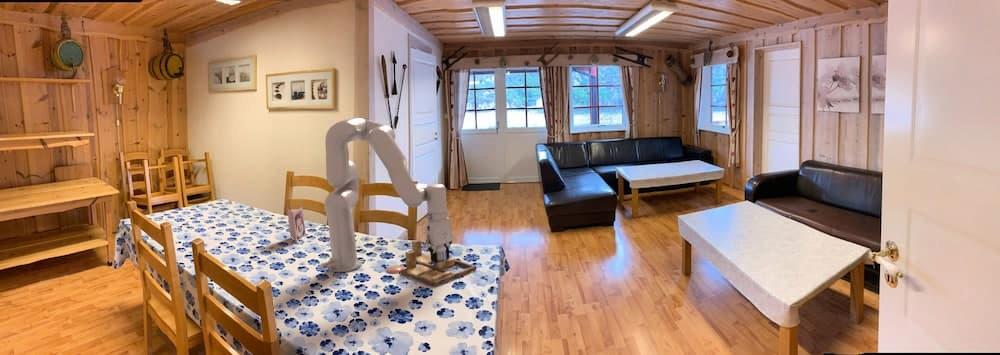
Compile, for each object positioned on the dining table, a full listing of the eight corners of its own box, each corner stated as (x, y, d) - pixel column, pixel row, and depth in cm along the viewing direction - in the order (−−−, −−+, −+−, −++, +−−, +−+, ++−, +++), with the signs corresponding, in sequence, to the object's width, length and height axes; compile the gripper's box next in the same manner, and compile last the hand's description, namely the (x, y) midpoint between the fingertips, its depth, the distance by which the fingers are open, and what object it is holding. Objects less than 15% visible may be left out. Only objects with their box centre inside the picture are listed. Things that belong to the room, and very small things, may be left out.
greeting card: (298, 243, 231) (294, 212, 228) (282, 244, 231) (278, 213, 228) (307, 236, 242) (304, 206, 239) (292, 236, 242) (288, 207, 239)
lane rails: (433, 287, 175) (433, 280, 174) (400, 273, 189) (400, 267, 188) (476, 269, 190) (476, 264, 189) (443, 258, 203) (442, 253, 203)
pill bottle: (440, 261, 200) (438, 238, 198) (450, 264, 197) (448, 241, 195) (430, 266, 196) (429, 242, 194) (440, 268, 192) (439, 244, 191)
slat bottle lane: (439, 270, 190) (438, 253, 189) (408, 258, 204) (406, 242, 203) (454, 264, 196) (453, 247, 195) (423, 253, 210) (422, 238, 209)
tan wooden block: (415, 277, 185) (414, 259, 183) (401, 271, 191) (399, 254, 190) (432, 270, 190) (431, 253, 189) (417, 265, 197) (416, 248, 195)
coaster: (393, 274, 188) (393, 273, 188) (382, 270, 193) (382, 269, 193) (408, 269, 193) (408, 268, 193) (397, 265, 198) (397, 264, 197)
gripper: (426, 222, 184) (429, 268, 187) (460, 212, 196) (462, 255, 199) (413, 219, 189) (417, 263, 192) (448, 209, 201) (450, 251, 204)
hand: (440, 259), depth 196 cm, fingers closed on pill bottle, 5 cm apart
